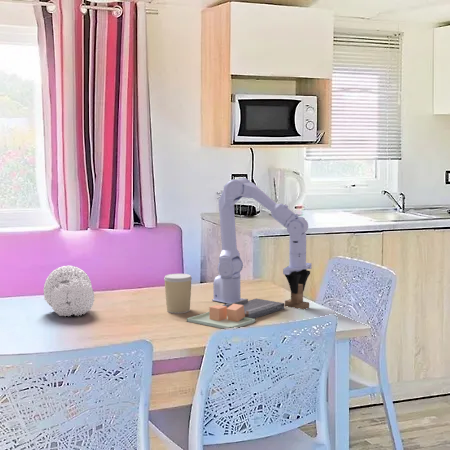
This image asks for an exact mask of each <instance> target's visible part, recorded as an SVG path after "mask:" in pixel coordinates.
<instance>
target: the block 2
mask: <svg viewBox="0 0 450 450" xmlns="http://www.w3.org/2000/svg"><path fill="white" fill-rule="evenodd" d="M226 311H227V317H228V320H231V321H236V322H238V321H240V320H241V319H243V318H244V317H245V312H244V305H239V304H232V305H231V306H229V307H228V308H226Z"/></svg>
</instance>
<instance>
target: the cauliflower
mask: <svg viewBox="0 0 450 450" xmlns="http://www.w3.org/2000/svg"><path fill="white" fill-rule="evenodd" d="M91 282H92V281H91V279H90V277H89V275H88V274H87V273H86V272H85V271H84V270H83V269H81V268H79V267H78V266H73V265H63V266H60V267H56V269H54V270H52V271H51V272H50V273H49V275H47V277H46V279H45V282H44V284H43V285H44V286H43V288H42V289H43V297H44V299H43V300H44V301H45V302H46V303H47V304H48V305H49V306H50V307H51V309H52V310H53V312H54V313H55V314H57V315H58V316H59V317H66V316H68V317H72V316H73V315H74V316H75V317H76V316H77V317H80V316H82V314H83V315H85V314H86V313H88V312H89V311H90V310H91V308H93V305H94V301H95V292H94V289H93V287H92V283H91ZM71 315H72V316H71ZM79 315H80V316H79Z"/></svg>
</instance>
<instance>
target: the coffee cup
mask: <svg viewBox="0 0 450 450" xmlns="http://www.w3.org/2000/svg"><path fill="white" fill-rule="evenodd" d="M192 280H193V278H192V275H190V274H189V273H169V274H166V275H164V278H163V281H164V290H165V303H166V312H168V313H169V314H185V313H189V312H190V310H191V295H192Z"/></svg>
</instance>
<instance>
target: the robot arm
mask: <svg viewBox="0 0 450 450" xmlns="http://www.w3.org/2000/svg"><path fill="white" fill-rule="evenodd" d="M242 198H247V199H252V200H255V201H256V202H257V203H259V204H260V205H261V206H263V207H264V208H265V209H267V210H268V211H269V212H270V215H271V218H273V219H274V220H275V221H276V222H278V223H279V224H280V225H281V226H282V227H284V228H285V229H286V231H287V233H288V234H289V239H288V240H289V244H288V245H289V246H288V247H289V248H288V249H289V250H288V251H289V253H288V254H289V255H288V256H289V259H288V261H289V263H288V266H286V267H284V268H282V274H283V275H284V277H285V278H286V280H287V281H288V286H289V288H290V289H289V290H290V294H291V293H294V294H297V292H298V284H303V293H304V291H305V288H306V284H307V280H308V279H309V277H310V275H311V269H312V262H307V233H306V232H308V229H309V223H308V220H306V219H305V217H303V216H299V214H298V213H294V212H293V211H292V210H291V209H290V208H289V206H288V204H283V203H277V202H275V201H274V200H273V199H272V198H271V197H270V196H268V195H267V194H266V193H265V192H264V191H263V190H262V189H261V188H259V187H258V186H257V185H256V183H254V182H252V181H250V179H248V178H246V177H240V178H236V179H233V178H232V179H230V180H229V181H227V182H226V183H225V184H224V185H223V190H222V192H221V194H220V196H219V199H218V212H219V213H218V214H219V225H220V226H219V227H220V239H221V240H220V241H221V251H220V255H219V257H218V264H217V272H218V275H217V276H215V278H214V279H213V299H211V301H212V302H218V303H224V304H229V303H232V302H236V301H239V300H243V299H244V298H242V296H241V271H242V270H243V268H244V265H243V263H244V262H243V260H242V259H241V253H240V251H239V250H238V246H237V233H236V217H235V216H236V215H235V205H236V204H237V203H238V202H239V200H240V199H242Z"/></svg>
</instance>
